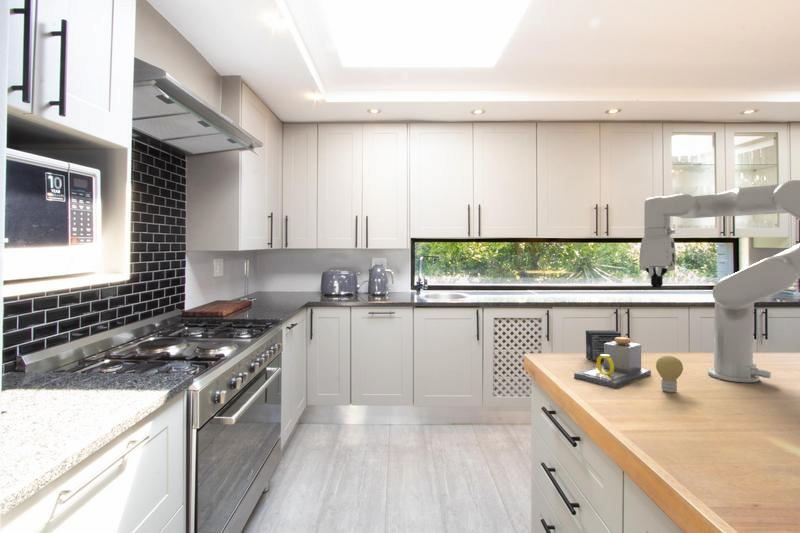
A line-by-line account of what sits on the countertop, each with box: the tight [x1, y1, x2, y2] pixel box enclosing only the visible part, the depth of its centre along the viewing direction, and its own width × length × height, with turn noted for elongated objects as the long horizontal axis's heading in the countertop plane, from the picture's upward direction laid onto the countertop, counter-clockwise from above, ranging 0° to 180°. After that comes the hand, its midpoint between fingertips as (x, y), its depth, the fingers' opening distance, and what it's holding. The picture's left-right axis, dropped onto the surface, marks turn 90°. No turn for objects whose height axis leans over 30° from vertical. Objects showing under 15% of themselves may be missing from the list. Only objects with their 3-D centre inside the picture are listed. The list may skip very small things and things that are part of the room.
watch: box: [595, 354, 614, 375], centre depth 131 cm, size 6×3×6 cm, turn 17°
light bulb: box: [655, 355, 684, 394], centre depth 119 cm, size 6×6×10 cm
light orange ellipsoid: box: [615, 336, 631, 345], centre depth 137 cm, size 4×4×8 cm
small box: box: [585, 329, 622, 362], centre depth 155 cm, size 11×6×10 cm, turn 84°
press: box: [573, 341, 652, 389], centre depth 134 cm, size 13×22×10 cm, turn 126°
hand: (656, 287), depth 144 cm, fingers closed
